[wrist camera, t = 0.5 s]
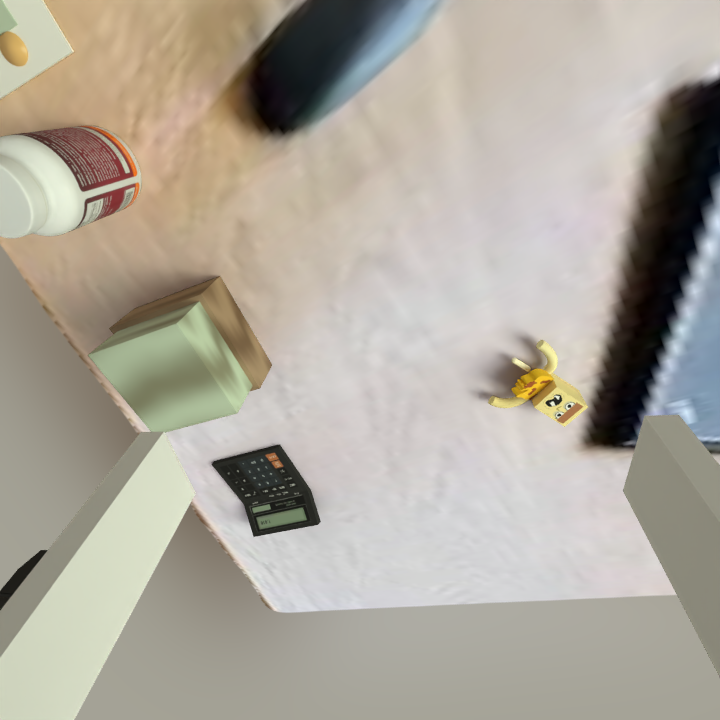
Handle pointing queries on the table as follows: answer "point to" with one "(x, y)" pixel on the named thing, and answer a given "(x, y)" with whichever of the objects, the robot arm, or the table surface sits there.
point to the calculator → (269, 490)
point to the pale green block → (184, 358)
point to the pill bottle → (63, 180)
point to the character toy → (545, 390)
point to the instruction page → (28, 42)
